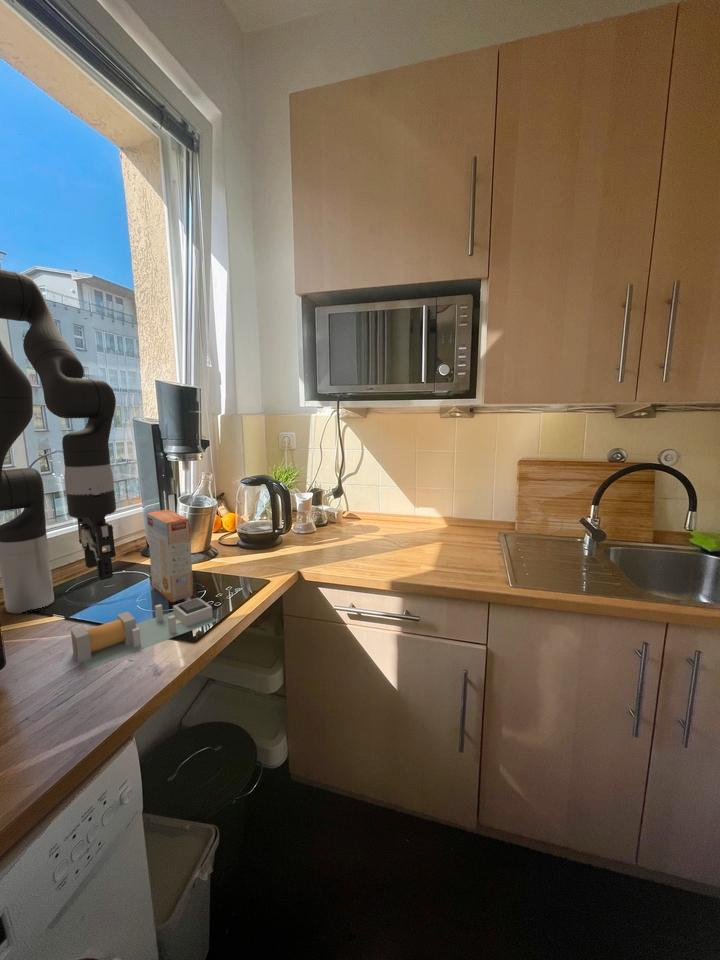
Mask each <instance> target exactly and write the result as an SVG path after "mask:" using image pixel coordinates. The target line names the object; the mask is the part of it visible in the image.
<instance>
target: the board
mask: <svg viewBox="0 0 720 960" xmlns="http://www.w3.org/2000/svg"><path fill="white" fill-rule="evenodd" d="M194 599H198V600H200V601H201V602H202V603H204V604H205V608H203V609H201V610H198V611H195V612H192V613H189V614H186V613H185V612H184V611H183V610H181V609H180V604H182V603H185V602H188V601H191V600H194ZM154 610H155V611H154V612H155V617H153V618H150V619H147V620H144V621H140V622H138V623H136V628H134V629H131V630H132V642H133V644H130V645H127V646H126V645H125V643H124V642H120V643H117V644H114V645H111V646H108V647H106V648H103V649H100V650H97V651H94V652H91V657H92V658H91V659H89V660H86V661H83V662H82V664H83V665H84V667H85V668H86V670H90V669H93V668H95V667H98V666H101V665H103V664H107V663H109V662H111V661H115V660H116V659H120V658H123V657H125V656H127V655H130V654H132V653H133V654H134V653H135V652H139V651H140V650H144V649H146V648H149V647H152V646H154V645H156V644H159V643H162V642H164V641H167V640H169V639H173V638H174V637H178V636H180V635H183V634H185V633H188V632H191V631H194V630H196V629H199V628H201V627H204V626H207V625H209V624H211V623H212V624H213V623H215V622H217V621H218V620H217V619H216V618H214V616H213V607H212V605H210V604H209V603H207V602H206V601H204V600H203V599H202V598H200V597H196V598H192V599H190V600H186V601H183V602H181V603H177V604H175V605H172V611H170V612H168V613H163V612H164V609H163V605H162V604H161V603H160V604H156V605H154Z"/></svg>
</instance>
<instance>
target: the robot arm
mask: <svg viewBox="0 0 720 960" xmlns="http://www.w3.org/2000/svg"><path fill="white" fill-rule="evenodd" d="M0 319H3V320H8V321H9V320H11V321H16V322H27V323H29V325H30V327H29V329H27V331H26V333H25V335H24V338H23V344H22V349H23V353H24V355H25V356H26V358H27V360H28V361H29V362H28V363H30V365H31V366H32V368H33V369H34V370H35V372H36V373H37V375H38V377H39V379H40V382H41V387H42V391H43V393H42V394H43V398H44V399H43V401H44V402H45V403H44V404H45V406H46V408H47V410H48V411H49V412H50V413H51V414H53V415H54V416H57V417H59V418H62V419H88V420H87V423H86V424H85V427H84V428H83V429H80V430H77V431H72V432H70V433H66V434H64V435H63V436H62V440H61V445H62V446H61V447H62V452H63V453H62V455H63V463H64V487H65V488H64V489H65V497H66V504H67V505H66V506H67V514H68V516H69V517H71V518H74V519H76V520H77V528H78V529H77V530H78V539H79V540H78V542H79V544H80V545H81V548H82V550H83V554H84V561H85V567H87V568H88V569H90V568H95V567H96V569H97V578H98V579H99V580H100V581H105V580H109V579H112V578H113V576H114V574H113V564H112V563H113V561H112V558H115V557H116V555H117V553H116V547H115V539H114V538H115V537H114V526H113V525H112V524H109V522H106V521H107V520H106V516H108V515H111V514H114V513H115V512H116V510H117V505H116V493H115V484H114V475H113V474H114V473H113V470H112V466H111V456H110V447H109V442H110V435H111V430H112V429H111V428H112V424H113V421H114V415H115V410H116V404H117V403H116V402H117V400H116V395H115V392H114V390H113V388H112V386H110V384H109V383H108V382H106V381H104V380H102V379H96V378H83V377H84V371H85V370H84V367H83V365H82V362H81V361H80V359H79V358H78V357H77V356H76V354H75V353H74V352H73V350H72V349H71V347H70V346H69V345H68V343H67V342H66V341H65V339H64V338H63V336H62V334H61V333H60V330H59V328H58V325H57V324H56V321H55V319H54V317H53V314H52V311H51V309H50V307H49V306H48V303H47V300H46V298H45V296H44V294H43V292H42V291H41V289H40V287H39V285H38V284H37V283H36V281H34V279H33V278H31V277H29V275H25V274H23V273H20V272H15V271H11V270H6V269H2V268H0ZM33 416H34V403H33V387H32V383H31V382H30V380H29V379H28V376H27V375H26V374H25V373H24V371H23V369H21V367H20V365H18V364H17V363H16V361H15V360H14V359H13V358H12V357H11V354H9V352H8V351H7V349H6V347H5V346H4V344H3V343H2V340H0V512H5V511H12V510H18V509H19V510H20V509H23V511H21V513H19V514H18V515H17V516H16V517H14V518H13V519H11V520H9V521H7V522H4V523H3V524H0V576H1V584H2V590H3V599H4V605H5V606H4V607H5V611H6V612H7V613H9V614H23V613H22V612H25V611H27V610H30V609H37V608H41V609H43V608H42V607H44V608H46V607H48V606H49V605H51V604H52V603H54V602H55V594H54V587H53V585H54V584H53V577H52V575H53V574H52V569H51V568H52V567H51V560H50V553H49V552H50V551H49V544H48V536H47V534H48V533H47V527H46V523H47V521H46V520H47V519H46V511H45V489H44V481H43V478H42V474H41V473H40V472H39V470H37V469H36V468H34V467H25V468H10V469H3V468H4V461H5V459H6V456H7V455H8V452H9V451H10V449H11V447H12V446H13V444H14V443H15V442H16V441H17V439H18V438H19V437H20V436H21V434H22V433H23V432H24V430H26V428H27V427H28V425H29V423H30V422H31V420H32V417H33ZM103 549H106V550H105V551H104V552H103ZM45 606H46V607H45Z"/></svg>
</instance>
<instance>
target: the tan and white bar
mask: <svg viewBox="0 0 720 960" xmlns="http://www.w3.org/2000/svg"><path fill="white" fill-rule="evenodd" d="M136 624H137V622H136V618H135V617H134V616H133V615H132V614H131V613H130V612H129V611H125V612H122V613H118V614H117V619H116V620H112V621H109V622H106V623H103V624H100V625H97V626H93V627H91V628H88V629H86V628H85V626H84V625H83V624H82V625H79V626H76V627H73V628H70V636H71V644H72V652H73V653H72V654H73V656H75V658H76V660H77V662H78V663H83V661H86V660H89V659H91V658H92V657H91V652H94V651H97V650H100V649H103V648H106V647H108V646H111V645H114V644H117V643H120V642H124V643H125V645H126V646H127V645H130V644H133V642H132V630H131V629H134V628H136Z"/></svg>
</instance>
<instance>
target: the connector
mask: <svg viewBox="0 0 720 960" xmlns="http://www.w3.org/2000/svg"><path fill="white" fill-rule="evenodd" d="M193 599H194V600H192V599H190V600H191V601H189V600H187V601H188V602H186V601H184V602H185V603H183V602H181V603H182V604H180V603H179V604H180V609H181V610H183V611H184V612H185V613H186V614H189V613H192V612H195V611H198V610H201V609H203V608H205V604H204V603H202V602H201V601H200V600H198V599H195V598H193Z"/></svg>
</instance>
